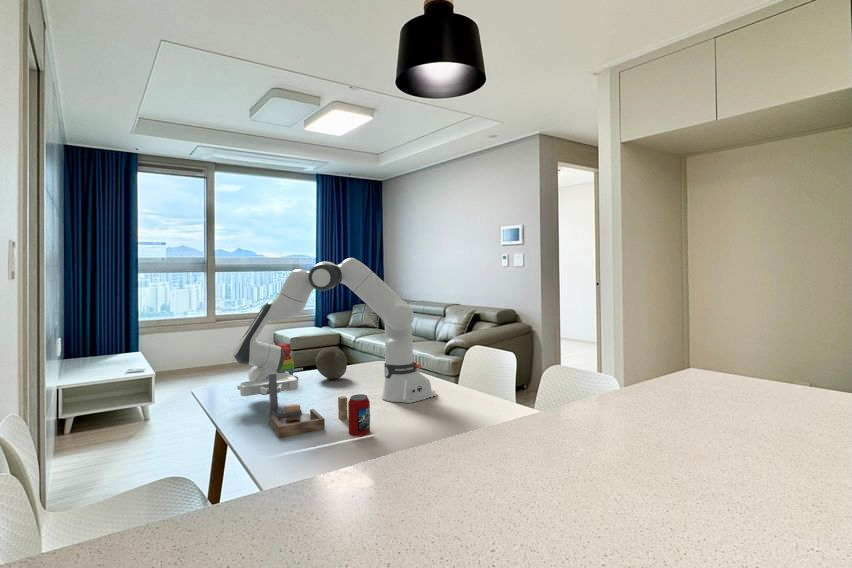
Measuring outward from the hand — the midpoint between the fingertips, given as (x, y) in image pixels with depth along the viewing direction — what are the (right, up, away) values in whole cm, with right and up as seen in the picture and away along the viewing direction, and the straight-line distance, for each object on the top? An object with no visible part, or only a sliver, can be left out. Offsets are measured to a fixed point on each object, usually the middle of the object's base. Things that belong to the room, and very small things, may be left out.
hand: (273, 391), depth 163 cm
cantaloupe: (+10, -7, +53) cm, 54 cm away
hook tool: (+5, -7, -3) cm, 10 cm away
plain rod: (+25, -9, -3) cm, 27 cm away
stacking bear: (-11, -7, +50) cm, 51 cm away
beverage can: (+33, -10, -16) cm, 38 cm away
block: (+8, -8, -5) cm, 13 cm away
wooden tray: (+10, -10, -9) cm, 17 cm away
